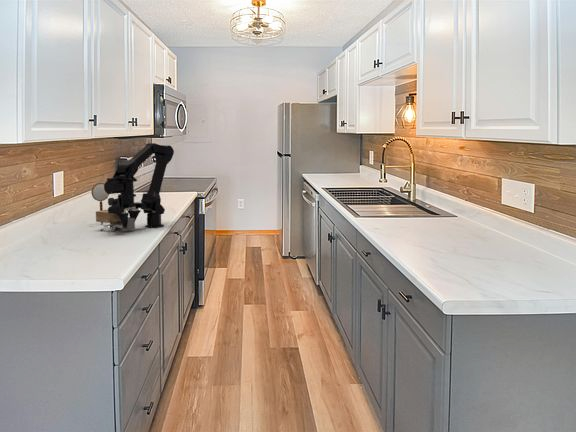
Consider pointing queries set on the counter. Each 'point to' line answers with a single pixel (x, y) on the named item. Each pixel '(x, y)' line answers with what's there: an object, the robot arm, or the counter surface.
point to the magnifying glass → (99, 194)
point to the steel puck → (109, 228)
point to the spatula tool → (129, 224)
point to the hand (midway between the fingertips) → (128, 226)
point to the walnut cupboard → (107, 217)
